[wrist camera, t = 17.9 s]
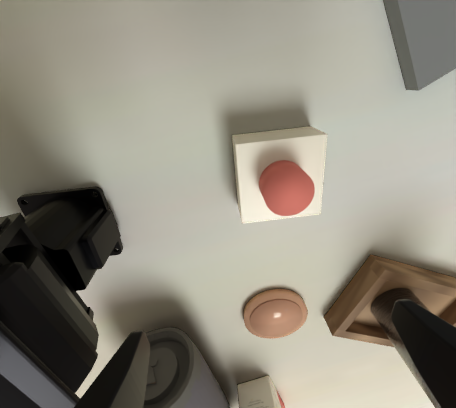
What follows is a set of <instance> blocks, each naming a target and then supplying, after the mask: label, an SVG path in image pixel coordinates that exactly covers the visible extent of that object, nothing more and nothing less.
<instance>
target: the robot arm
mask: <svg viewBox="0 0 456 408" xmlns="http://www.w3.org/2000/svg"><path fill="white" fill-rule="evenodd" d="M93 192H96V193H97V194H98V195H95V194H94V193H93ZM24 200H26V201H27V202H28V203H26V202H25V201H24ZM17 202H18V204H19V206H20V208H21V210H22V212H23V213H24V215H25V217H23V216H22V215H21V213H16V214H12V215H9V216H5V217H0V408H143V405H144V400H145V392H146V383H147V374H148V365H149V356H150V344H149V342H148V339H147V336H146V334H145V332H144V331H134V332H132V333H131V334H130V335H129V336H128V337H127V339H126V340H125V341H124V343H123V344H122V345H121V347H120V348H119V349H118V350H117V352H116V353H115V354H114V356H113V357H112V358H111V360H110V361H109V362H108V364H107V365H106V366H105V367H104V369H103V370H102V371H101V373H100V374H99V375H98V377H97V378H96V379H95V381H94V382H93V383H92V385H91V386H90V387H89V388H88V390H87V391H86V392H85V394H84V395H83V396H82V398H81V399H80V398H79V397H78V396H77V395H76V394H75V392H76V391H77V390H78V389H79V387H80V386H81V384H82V383H83V381H84V380H85V378H86V377H87V375H88V374H89V372H90V371H91V369H92V367H93V365H94V363H95V361H96V359H97V356H98V354H97V352H96V349H97V342H98V336H99V334H98V331H97V328H96V325H95V323H94V322H93V314H94V313H93V311H92V310H91V308H90V307H87V306H86V304H85V303H84V302H83V300H82V299H81V298H80V296H79V295H78V294H77V292H76V291H78V290H84V289H85V288H86V287H87V285H88V284H89V282H90V280H91V279H92V277H93V275H94V274H95V272H96V270H97V269H101V268H102V267H103V266H104V264H105V262H106V261H107V259H108V257H109V256H111V255H118V254H120V253H121V252H122V250H123V246H122V243H121V241H120V236H121V235H120V232H119V230H118V227H117V224H116V221H115V219H114V216H113V213H112V212H111V211H110V210H109V208H108V205H107V202H106V199H105V197H104V194H103V191H102V190H101V189H100V188H98V187H88V188H79V189H70V190H61V191H53V192H44V193H35V194H27V195H22V196H21V197H19V198H18V200H17ZM115 248H117V249H118V250H116V249H115ZM391 320H392V322H393V325H394V326H395V328H396V330H397V332H398V334H399V336H400V338H401V340H402V342H403V344H404V346H405V348H406V350H407V352H408V354H409V355H410V357H411V359H412V361H413V363H414V365H415V367H416V368H417V370H418V372H419V373H420V375H421V377H422V378H423V380H424V381H425V383H426V384H427V386H428V388H429V389H430V391H431V392H432V394H433V396H434V397H435V399H436V400H437V402H438V403H439V405H440V407H441V408H456V327H455V326H453V325H451V324H450V323H448V322H446V321H445V320H443V319H441V318H440V317H438V316H436V315H435V314H433V313H431V312H430V311H428V310H426V309H425V308H423V307H421V306H420V305H418V304H416V303H415V302H413V301H411V300H409V299H403V300H397V301H396V302H395V304H394V307H393V310H392V314H391Z"/></svg>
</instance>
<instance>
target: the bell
mask: <svg viewBox="0 0 456 408" xmlns="http://www.w3.org/2000/svg"><path fill="white" fill-rule="evenodd" d="M403 299H409V300H411V301H413V302H415V303H416V304H418V305H420V306H421V307H423V308H425V309H426V310H428V311H430V310H429V309H428V308H427V307H426V306H425V305H424V304H423V303H422V302H421V301H420V300H419V298H418V297H417V296H416V295H415V294H414V293H413V292H412V291H411V290H409V289H406V288H395V289H391V290H388V291H386V292H384V293H382V294H380V295H379V296H378V297H377V298H376V299H375V300H374V301H373V302H372V304H371V313H372V314H373V316H374V317H375V319H376V320H377V322H378V323H379V325H380V326H381V328H382V329H383V331H384V332H385V334H386V335H387V337H388V338H389V340H390V341H391V342H392V344H393V345H394V347H395V348H396V350H397V351H398V353H399V354H400V356H401V357H402V359H403V360H404V362H405V363H406V365H407V366H408V368H409V369H410V371H411V372H412V374H413V375H414V377H415V378H416V380H417V381H418V383H419V384H420V386H421V387H422V389H423V390H424V392H425V393H426V395H427V396H428V398H429V399H430V400H431V402H432V403H433V405H434V406H435V408H441V407H440V405H439V403H438V402H437V400H436V399H435V397H434V396H433V394H432V392H431V391H430V389H429V388H428V386H427V384H426V383H425V381H424V380H423V378H422V377H421V375H420V373H419V372H418V370H417V368H416V367H415V365H414V363H413V361H412V359H411V357H410V355H409V354H408V352H407V350H406V348H405V346H404V344H403V342H402V340H401V338H400V336H399V334H398V332H397V330H396V328H395V326H394V325H393V322H392V320H391V314H392V310H393V307H394V304H395V302H396V301H397V300H403ZM430 312H431V311H430ZM431 313H432V312H431Z"/></svg>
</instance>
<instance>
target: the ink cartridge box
mask: <svg viewBox="0 0 456 408" xmlns="http://www.w3.org/2000/svg"><path fill="white" fill-rule="evenodd" d="M237 390H238V401H239V408H285V406H284V403H283V402H282V400H281V398H280V396H279V394H278V392H277V390H276V388H275V386H274V385H273V383H272V381H271V379H270V377H269V376H265V377H262V378H258V379H255V380H252V381H248V382H245V383H241V384H238V385H237Z"/></svg>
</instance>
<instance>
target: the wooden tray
mask: <svg viewBox="0 0 456 408" xmlns="http://www.w3.org/2000/svg"><path fill="white" fill-rule="evenodd" d="M395 288H406V289H409V290H411V291H412V292H413V293H414V294H415V295H416V296H417V297H418V298H419V300H420V301H421V302H422V303H423V304H424V305H425V306H426V307H427V308H428V309H429V310H430V311H431V312H432V313H433V314H435V315H436V316H438V317H440V318H441V319H443V320H445V321H446V322H448V323H450V324H451V325H453V326H455V327H456V278H455V277H451V276H448V275H444V274H440V273H437V272H433V271H429V270H426V269H422V268H419V267H415V266H411V265H408V264H404V263H400V262H397V261H393V260H390V259H386V258H382V257H379V256H375V255H371V254H370V256H369V257H368V258H367V260H366V261H365V263H364V264H363V265H362V267H361V268H360V269H359V271H358V272H357V273H356V275H355V276H354V277H353V279H352V280H351V281H350V283H349V284H348V285H347V287H346V288H345V289H344V291H343V292H342V293H341V295H340V296H339V298H338V299H337V300H336V302H335V303H334V304H333V306H332V307H331V308H330V310H329V311H328V312H327V314H326V315H325V316H324V319H325V321H326V323H327V325H328V327H329V329H330V331H331V333H332V336H337V337H343V338H348V339H353V340H359V341H364V342H369V343H375V344H380V345H385V346H391V347H394V345H393V344H392V342H391V341H390V340H389V338H388V337H387V335H386V334H385V332H384V331H383V329H382V328H381V326H380V325H379V323H378V322H377V320H376V319H375V317H374V316H373V314H372V313H371V304H372V302H373V301H374V300H375V299H376V298H377V297H378V296H379V295H380V294H382V293H384V292H386V291H388V290H391V289H395Z"/></svg>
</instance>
